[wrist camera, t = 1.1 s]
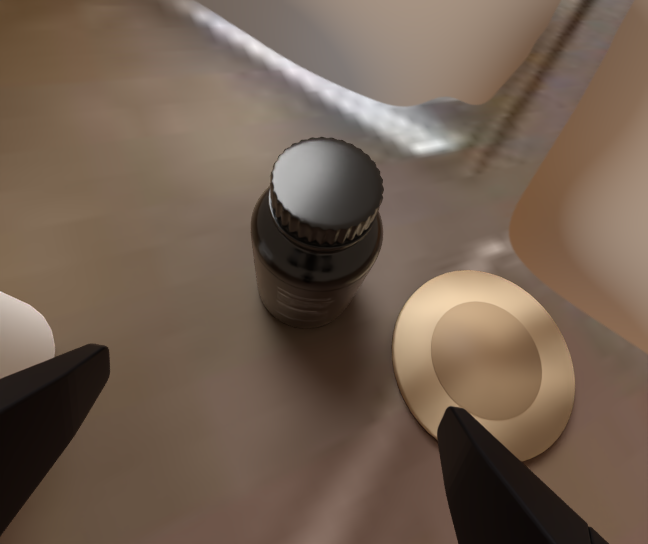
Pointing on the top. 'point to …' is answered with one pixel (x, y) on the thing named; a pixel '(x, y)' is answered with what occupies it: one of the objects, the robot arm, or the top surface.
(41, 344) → the cylinder with rectangular tab
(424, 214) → the top surface
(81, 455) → the top surface
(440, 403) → the beige round plate
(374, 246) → the supplement bottle
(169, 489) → the top surface
